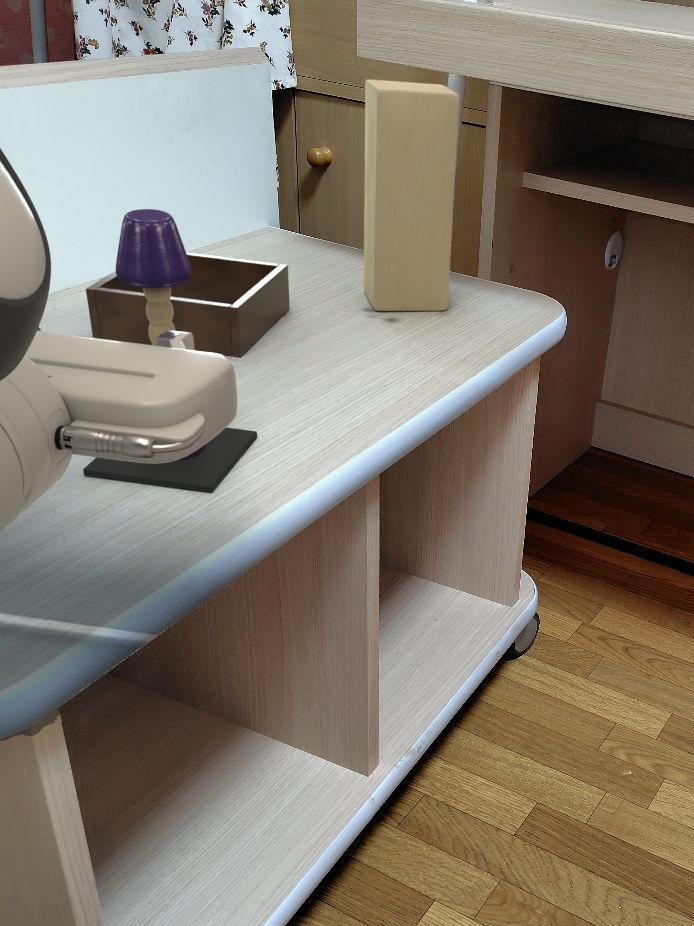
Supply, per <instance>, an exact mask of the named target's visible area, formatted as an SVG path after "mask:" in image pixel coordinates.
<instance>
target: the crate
mask: <svg viewBox="0 0 694 926" xmlns="http://www.w3.org/2000/svg"><path fill="white" fill-rule="evenodd" d="M186 254H187V256H188V259H189V262H190V265H191V269H192V276H191V278H190V280H189V281H187V282H186V283H184V284H181V285H179V286H174V287H171V289H172V290H171V297H170V299H169V300H170V301H171V303H172V306H173V310H174V315H173V319H172V323H173V324H174V327H175V331H182V332H189V333H192V335H193V338H194V349H195V351H201V352H210V353H217V354H221V355H223V356H230V357H231V356H232V357H239V358H241V357H242V356H244V355H245V354H246V353H247V351H249V350H250V349H251V348H252V347H253V346H254V345H255V344H256V343H257V342H258V341H259V340H260V339H261V338H262V337H263V336H264V335H265V334H266V333H267V332H268V331H270V329H272V328H273V326H274V325H276V324H277V322H279V320H280V319H282V318H283V316H284V315H286V313H287V312H288V311H289V310H290V309H291V307H290V305H291V304H290V283H289V282H290V281H289V265H288V264H283V263H282V264H280V263H273V262H266V261H258V260H250V259H241V258H233V257H226V256H218V255H211V254H210V255H209V254H203V253H193V252H188V251H186ZM85 294H86V300H87V307H88V315H89V322H90V328H91V334H92V338H97V339H105V340H113V341H121V342H129V343H137V344H145V345H152V342H151V341H150V338H149V334H148V328H149V324H150V321H149V320H148V318H147V315H146V303H147V299H146V297H145V295H144V292H143V287H136V286H131V285H128V284H126V283H123V282H122V281H120V280H119V279H118V277H117V275H116V270H115V271H113V272H112V273H110V274H108V275H106V276H104V277H102V278H101V279H99V280H98V281H96V282H95V283H92V284H91V285H90V286H88V287H86V288H85ZM285 312H286V313H285Z"/></svg>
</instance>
